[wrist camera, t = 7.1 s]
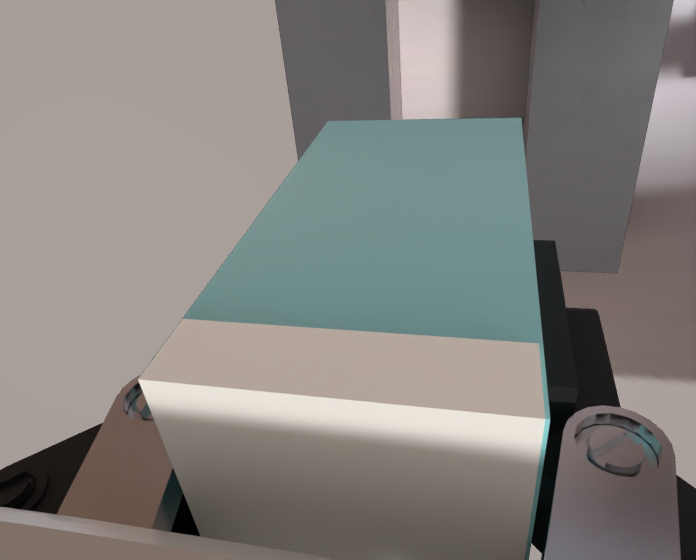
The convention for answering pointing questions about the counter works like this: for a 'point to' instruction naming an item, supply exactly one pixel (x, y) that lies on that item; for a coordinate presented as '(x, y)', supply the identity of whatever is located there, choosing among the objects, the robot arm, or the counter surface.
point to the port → (541, 107)
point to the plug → (370, 355)
